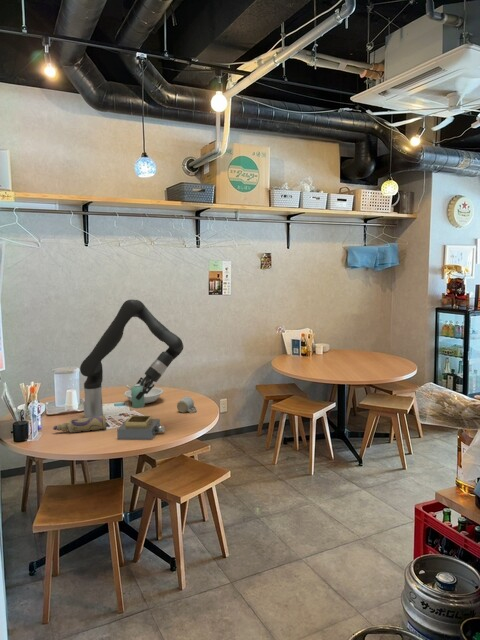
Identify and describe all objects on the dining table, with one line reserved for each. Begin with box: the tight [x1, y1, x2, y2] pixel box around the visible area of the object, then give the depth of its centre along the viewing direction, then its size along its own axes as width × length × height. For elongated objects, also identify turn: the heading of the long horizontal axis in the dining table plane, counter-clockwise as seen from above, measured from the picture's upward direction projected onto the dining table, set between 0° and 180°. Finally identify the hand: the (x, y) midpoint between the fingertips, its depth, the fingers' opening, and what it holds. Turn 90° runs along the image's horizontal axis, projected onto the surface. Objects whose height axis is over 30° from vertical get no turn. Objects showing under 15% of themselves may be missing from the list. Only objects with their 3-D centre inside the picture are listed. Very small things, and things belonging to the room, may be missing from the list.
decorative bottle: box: [52, 415, 107, 433], centre depth 238 cm, size 26×8×7 cm, turn 104°
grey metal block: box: [116, 415, 166, 440], centre depth 232 cm, size 21×16×8 cm
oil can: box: [125, 383, 146, 409], centre depth 230 cm, size 9×6×12 cm
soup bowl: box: [123, 386, 164, 404], centre depth 288 cm, size 24×24×7 cm
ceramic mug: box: [176, 396, 198, 414], centre depth 267 cm, size 11×8×8 cm
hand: (134, 397), depth 230 cm, fingers closed on oil can, 6 cm apart
